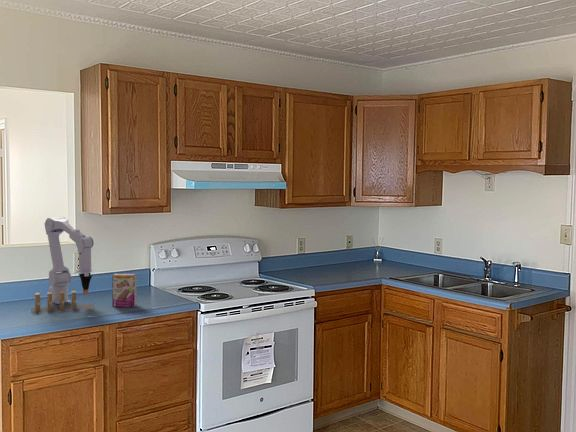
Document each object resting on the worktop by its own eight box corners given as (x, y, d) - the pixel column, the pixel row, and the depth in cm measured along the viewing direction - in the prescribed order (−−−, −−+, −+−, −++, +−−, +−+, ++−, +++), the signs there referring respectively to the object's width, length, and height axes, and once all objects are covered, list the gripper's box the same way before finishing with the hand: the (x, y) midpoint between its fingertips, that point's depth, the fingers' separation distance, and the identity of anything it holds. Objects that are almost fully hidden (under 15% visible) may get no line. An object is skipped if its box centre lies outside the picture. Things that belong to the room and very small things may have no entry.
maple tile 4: (71, 308, 287) (71, 292, 286) (71, 306, 291) (71, 290, 291) (76, 308, 287) (75, 292, 287) (76, 306, 292) (75, 290, 291)
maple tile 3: (59, 309, 285) (59, 293, 284) (60, 307, 289) (59, 291, 289) (64, 309, 285) (63, 293, 285) (64, 307, 290) (64, 291, 289)
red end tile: (83, 294, 287) (83, 278, 287) (82, 292, 292) (82, 276, 291) (88, 294, 288) (87, 278, 288) (87, 292, 293) (86, 276, 292)
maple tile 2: (47, 310, 283) (47, 294, 282) (48, 308, 287) (47, 292, 287) (52, 310, 283) (51, 293, 283) (52, 307, 288) (52, 291, 288)
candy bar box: (112, 307, 292) (111, 275, 291) (114, 305, 297) (114, 273, 296) (134, 307, 293) (134, 275, 292) (136, 305, 298) (136, 273, 297)
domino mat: (30, 314, 277) (30, 313, 277) (31, 308, 288) (31, 307, 288) (94, 309, 287) (94, 308, 287) (93, 304, 298) (93, 303, 298)
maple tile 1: (35, 311, 281) (34, 294, 280) (35, 308, 285) (35, 292, 285) (39, 310, 282) (39, 294, 281) (40, 308, 286) (40, 292, 286)
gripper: (75, 259, 294) (75, 286, 295) (77, 263, 281) (78, 291, 282) (90, 259, 297) (90, 285, 298) (93, 263, 283) (93, 290, 284)
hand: (85, 288), depth 290 cm, fingers closed on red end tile, 5 cm apart
